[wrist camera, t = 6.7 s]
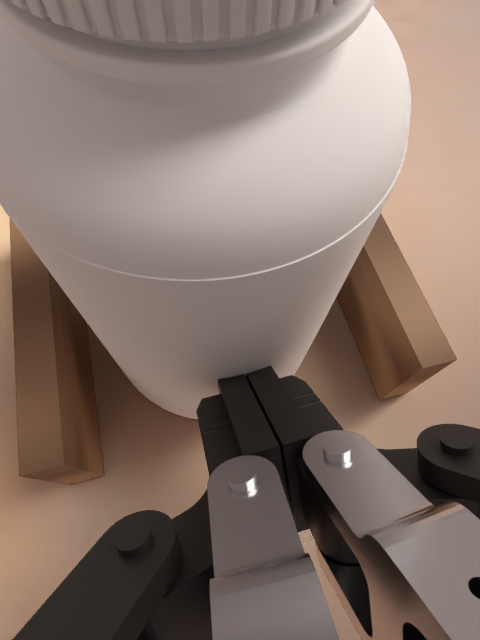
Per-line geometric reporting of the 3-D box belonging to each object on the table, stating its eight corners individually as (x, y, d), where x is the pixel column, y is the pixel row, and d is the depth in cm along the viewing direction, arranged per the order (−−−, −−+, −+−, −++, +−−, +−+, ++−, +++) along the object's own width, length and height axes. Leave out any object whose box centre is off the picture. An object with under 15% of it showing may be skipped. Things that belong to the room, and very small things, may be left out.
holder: (407, 392, 16) (457, 359, 13) (71, 484, 15) (19, 476, 11) (314, 187, 21) (332, 120, 17) (49, 239, 19) (8, 177, 16)
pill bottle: (242, 467, 15) (352, 91, 2) (80, 355, 17) (-533, -281, 3) (339, 309, 18) (669, -300, 4) (192, 227, 20) (111, -390, 6)
